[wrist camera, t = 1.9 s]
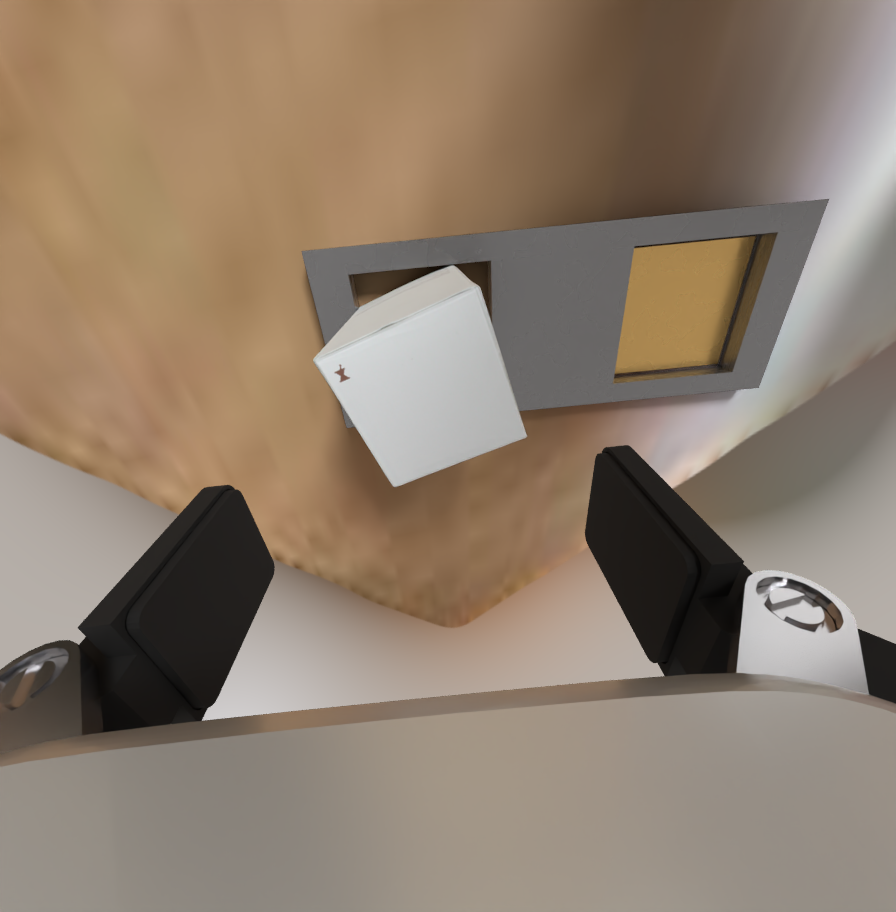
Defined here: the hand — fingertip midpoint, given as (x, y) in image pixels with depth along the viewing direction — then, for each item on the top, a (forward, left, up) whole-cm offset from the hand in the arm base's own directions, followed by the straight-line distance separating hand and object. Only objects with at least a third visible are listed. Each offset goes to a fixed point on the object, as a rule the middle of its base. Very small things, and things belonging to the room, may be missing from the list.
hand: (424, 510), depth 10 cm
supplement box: (0, 0, -20) cm, 20 cm away
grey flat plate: (0, +9, -20) cm, 22 cm away
